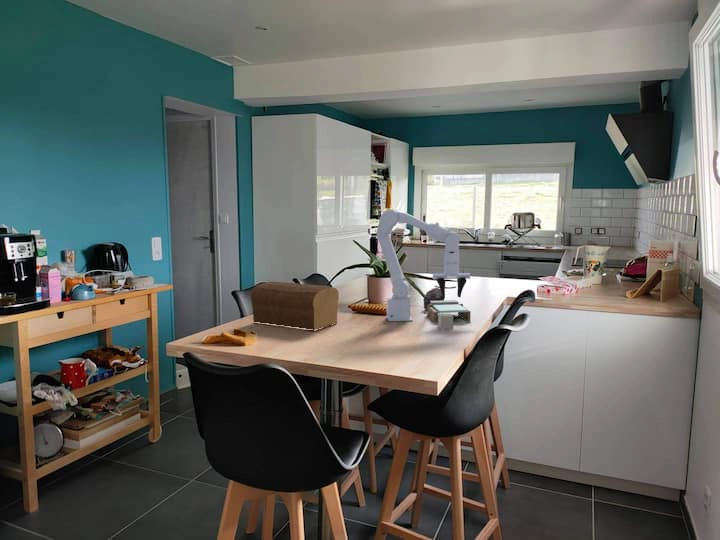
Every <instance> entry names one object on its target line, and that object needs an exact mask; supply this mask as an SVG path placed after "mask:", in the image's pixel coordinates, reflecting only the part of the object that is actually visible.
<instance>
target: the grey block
mask: <svg viewBox="0 0 720 540" xmlns="http://www.w3.org/2000/svg"><path fill="white" fill-rule="evenodd" d="M437 324H438V325H437V327H438V328H439V329H440V330H441V329H447V330H454V315H453V314H451V313H438V322H437Z"/></svg>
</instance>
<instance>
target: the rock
mask: <svg viewBox="0 0 720 540" xmlns="http://www.w3.org/2000/svg"><path fill="white" fill-rule="evenodd" d="M425 297H426V298H427V299H428V300H427V299H426V298H425ZM445 298H446V297H445ZM445 298H443V297H442V294H441V290H440V287H433V288H431V289H429V290H428V291H427V292H426V293H425V295H424V297H423V299H422V300H423V309H424V310H426V311H427V306H428V305H430V301H445ZM433 309H434V308H433Z"/></svg>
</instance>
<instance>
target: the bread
mask: <svg viewBox="0 0 720 540" xmlns="http://www.w3.org/2000/svg"><path fill="white" fill-rule="evenodd" d="M339 298H340V297H339V290H338V289H337V288H335V287H332V286H328V285H317V284H306V283H299V282H298V283H297V282H286V281H285V282H284V281H266V282H263V283H260V284H257V285H255V286H254V287H253V288H252V289H251V291H250V300H251V306H252V307H251V308H252V315H253V316H252V319H253V323H254V322H260V323H269V324H276V325H284V326H291V327H299V328H306V329H313V330H315V329H319V328H322V327H326V326H329V325H332V324H334V323H336V324H338V310H339V309H338V304H339ZM334 325H335V324H334ZM332 326H333V325H332ZM329 327H330V326H329ZM326 328H327V327H326Z"/></svg>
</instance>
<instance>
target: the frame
mask: <svg viewBox="0 0 720 540" xmlns="http://www.w3.org/2000/svg"><path fill="white" fill-rule="evenodd" d="M458 304H459V305H461V306H462V307H464V308H465V309H466V310H467V312H457V315H458V314H459V315H458V316H460V317H461V318H462V317H463V318H464V319H463V318H462V319H463V320H465V321H466V322H467V321H470V322H471V317H472V316H471V313H472V312H471V310H469V309H468V308H466V307H465V306H464V304H463V303H458ZM452 305H453V304H452ZM432 306H433V305H428V306H427V310H426V314H427V317H428V318H429V319H430V320H431V321H432V322H433V323H435V322H436V323H438V314H439V312H438V311H437V310H436V309H433V308H432Z"/></svg>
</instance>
